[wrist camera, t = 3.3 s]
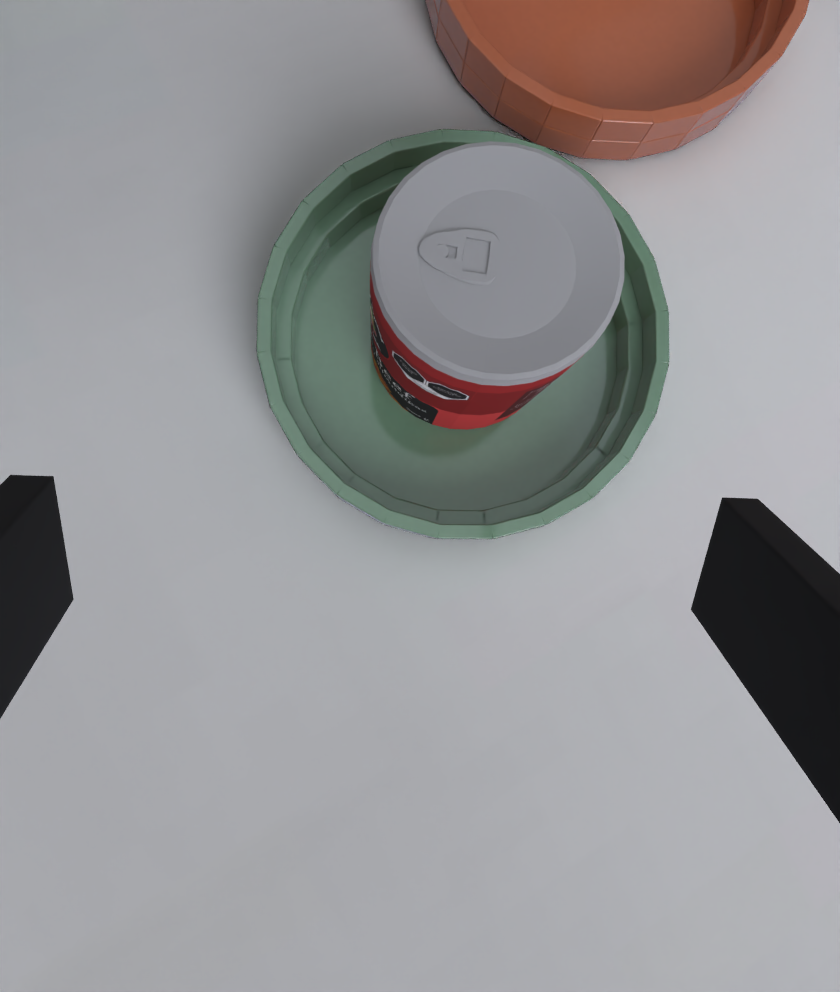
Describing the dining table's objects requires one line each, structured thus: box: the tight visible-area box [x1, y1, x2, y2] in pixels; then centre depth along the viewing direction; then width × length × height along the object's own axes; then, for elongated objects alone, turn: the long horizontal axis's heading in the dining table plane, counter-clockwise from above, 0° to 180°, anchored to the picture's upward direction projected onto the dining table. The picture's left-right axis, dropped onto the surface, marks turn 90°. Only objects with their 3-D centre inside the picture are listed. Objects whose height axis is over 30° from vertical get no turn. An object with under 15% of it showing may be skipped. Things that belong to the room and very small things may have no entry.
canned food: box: [370, 141, 625, 430], centre depth 28 cm, size 8×8×11 cm
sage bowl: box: [256, 129, 669, 539], centre depth 32 cm, size 17×17×3 cm
